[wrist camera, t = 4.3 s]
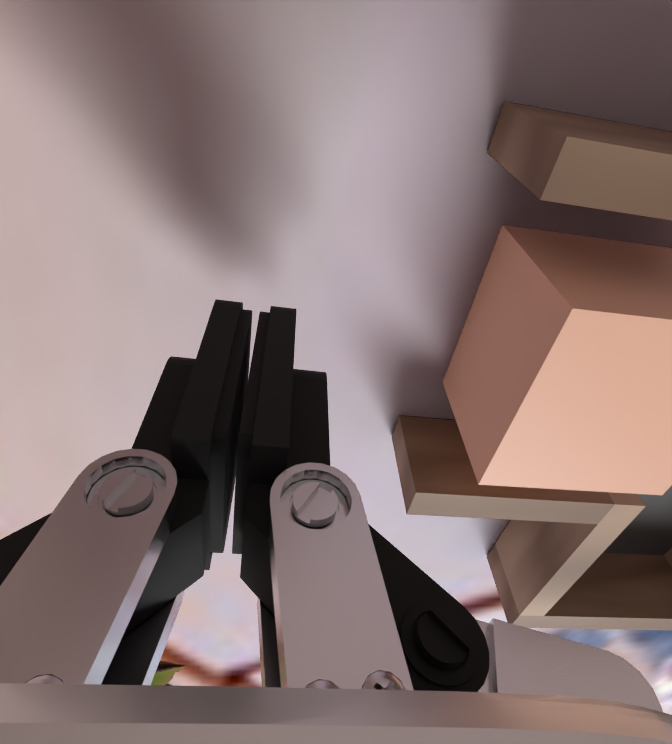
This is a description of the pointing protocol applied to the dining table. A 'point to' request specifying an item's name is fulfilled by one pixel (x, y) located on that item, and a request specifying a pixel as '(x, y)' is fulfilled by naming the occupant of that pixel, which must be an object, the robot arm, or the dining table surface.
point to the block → (568, 365)
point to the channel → (556, 506)
